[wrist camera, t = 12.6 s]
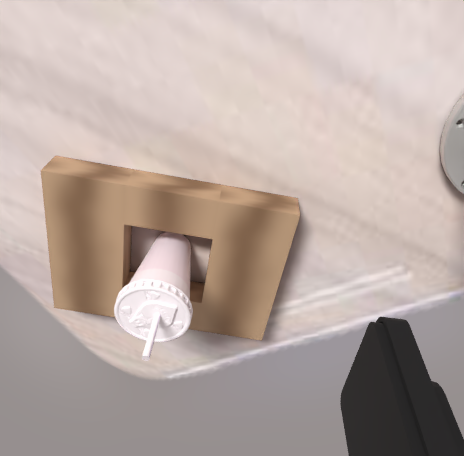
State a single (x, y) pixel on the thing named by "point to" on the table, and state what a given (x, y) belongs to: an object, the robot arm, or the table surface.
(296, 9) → the table surface
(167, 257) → the smoothie
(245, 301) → the socket board
